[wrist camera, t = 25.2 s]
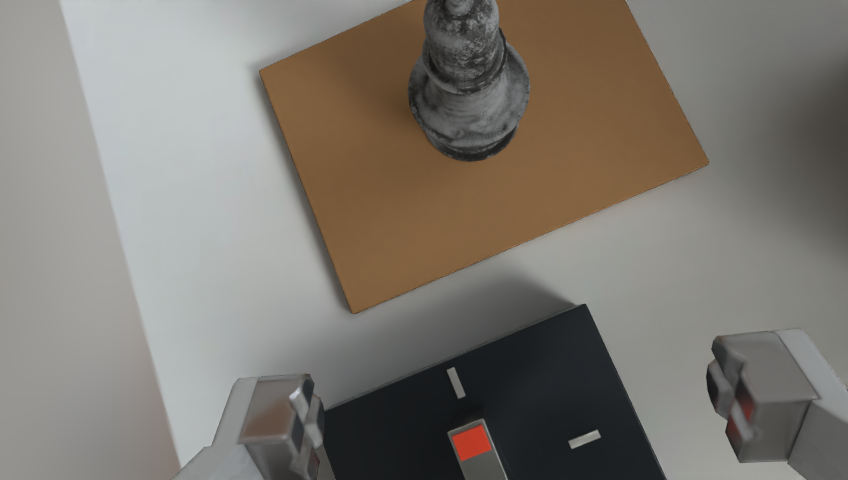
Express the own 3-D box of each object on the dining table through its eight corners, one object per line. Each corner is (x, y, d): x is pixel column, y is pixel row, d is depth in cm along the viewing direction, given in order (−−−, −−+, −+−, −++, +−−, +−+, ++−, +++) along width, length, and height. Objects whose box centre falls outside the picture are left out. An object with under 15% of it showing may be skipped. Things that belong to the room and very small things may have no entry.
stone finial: (431, 179, 31) (393, 93, 19) (405, 79, 32) (355, -63, 20) (538, 150, 30) (568, 43, 19) (509, 49, 31) (520, -114, 19)
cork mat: (354, 314, 31) (351, 314, 30) (262, 74, 34) (258, 69, 33) (705, 165, 30) (710, 162, 29) (582, -72, 32) (584, -79, 32)
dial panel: (407, 618, 29) (397, 655, 26) (329, 406, 30) (311, 416, 27) (673, 516, 28) (696, 540, 25) (576, 304, 30) (586, 303, 27)
